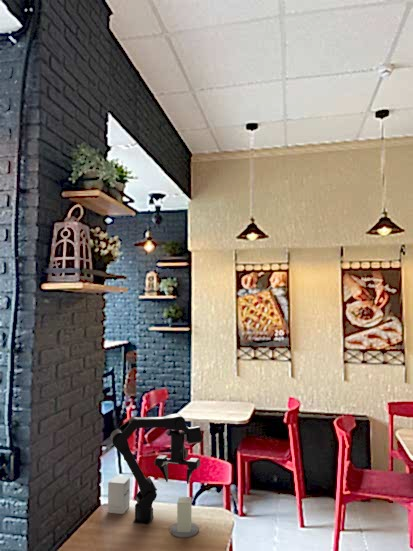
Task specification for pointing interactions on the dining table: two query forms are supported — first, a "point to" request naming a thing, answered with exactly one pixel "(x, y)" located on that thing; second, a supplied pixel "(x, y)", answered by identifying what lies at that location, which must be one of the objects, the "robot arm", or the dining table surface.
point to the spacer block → (184, 514)
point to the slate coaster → (184, 534)
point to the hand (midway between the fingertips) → (177, 482)
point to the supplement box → (119, 495)
